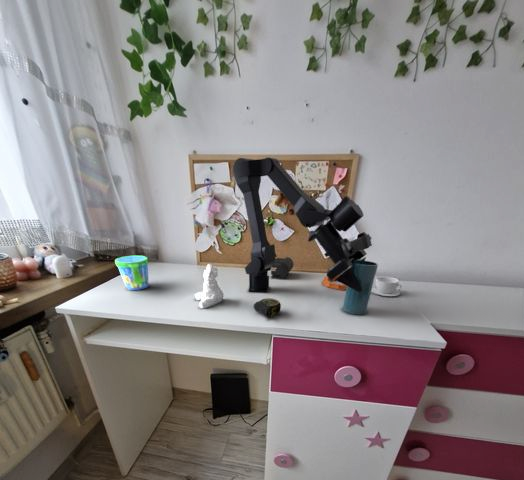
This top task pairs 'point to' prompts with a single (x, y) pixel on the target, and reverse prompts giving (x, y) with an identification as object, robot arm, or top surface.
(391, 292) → the teacup
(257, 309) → the tape measure
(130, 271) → the snack cup
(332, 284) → the ring
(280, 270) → the end cap
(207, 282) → the sitting furry creature
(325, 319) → the top surface
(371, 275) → the cup
